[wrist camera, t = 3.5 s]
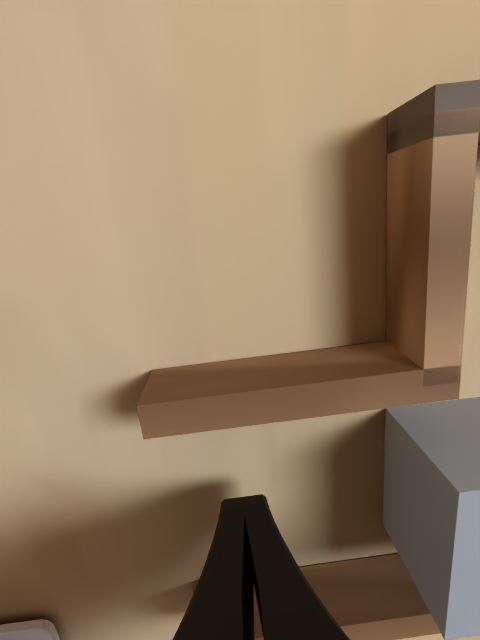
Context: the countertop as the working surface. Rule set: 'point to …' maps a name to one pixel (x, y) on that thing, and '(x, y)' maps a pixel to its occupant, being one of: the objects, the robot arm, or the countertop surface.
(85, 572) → the countertop surface
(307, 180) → the countertop surface
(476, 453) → the block
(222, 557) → the robot arm
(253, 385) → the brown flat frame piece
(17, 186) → the countertop surface
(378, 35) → the countertop surface
